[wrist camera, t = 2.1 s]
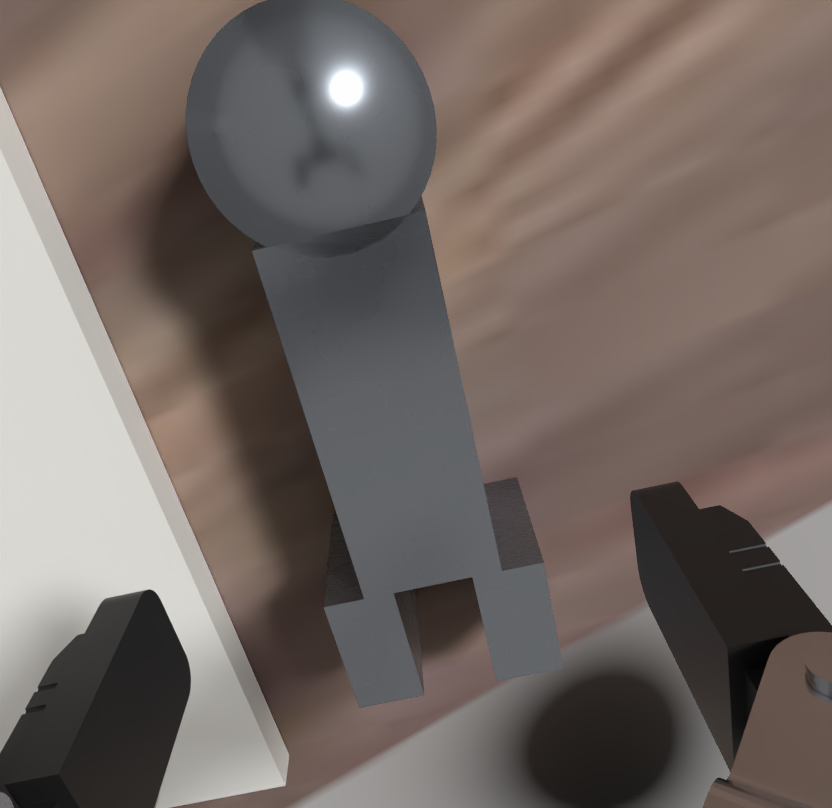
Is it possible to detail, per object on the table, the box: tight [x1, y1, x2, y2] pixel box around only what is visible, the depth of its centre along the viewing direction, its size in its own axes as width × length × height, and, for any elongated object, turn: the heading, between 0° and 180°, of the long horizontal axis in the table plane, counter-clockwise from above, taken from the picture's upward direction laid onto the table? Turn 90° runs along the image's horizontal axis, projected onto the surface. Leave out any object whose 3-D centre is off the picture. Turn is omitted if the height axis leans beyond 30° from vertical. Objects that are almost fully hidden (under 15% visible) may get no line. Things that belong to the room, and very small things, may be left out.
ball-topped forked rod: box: [186, 0, 563, 708], centre depth 18 cm, size 17×6×4 cm, turn 12°
